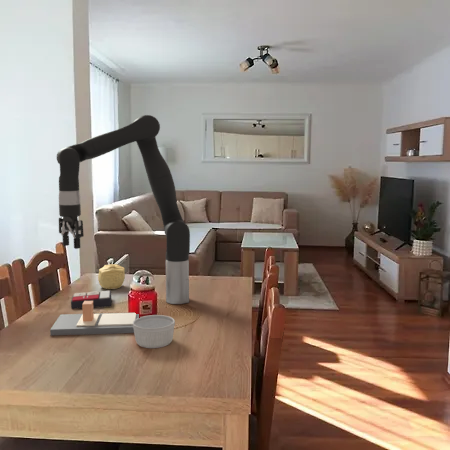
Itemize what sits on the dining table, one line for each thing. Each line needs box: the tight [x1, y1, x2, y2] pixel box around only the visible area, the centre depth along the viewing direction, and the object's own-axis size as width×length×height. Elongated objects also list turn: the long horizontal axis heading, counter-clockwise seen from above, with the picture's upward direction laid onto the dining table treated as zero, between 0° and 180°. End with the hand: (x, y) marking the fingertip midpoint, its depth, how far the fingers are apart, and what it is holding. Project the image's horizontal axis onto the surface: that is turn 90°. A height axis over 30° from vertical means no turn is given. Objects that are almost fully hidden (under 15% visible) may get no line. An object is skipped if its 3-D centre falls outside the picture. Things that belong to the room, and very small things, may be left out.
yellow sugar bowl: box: [97, 263, 126, 290], centre depth 227 cm, size 12×12×11 cm
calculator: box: [70, 290, 112, 309], centre depth 203 cm, size 11×4×15 cm
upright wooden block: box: [76, 301, 100, 326], centre depth 176 cm, size 6×12×6 cm, turn 6°
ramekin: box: [133, 314, 176, 349], centre depth 162 cm, size 13×13×7 cm
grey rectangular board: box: [49, 312, 139, 336], centre depth 176 cm, size 28×16×2 cm, turn 96°
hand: (71, 246), depth 188 cm, fingers open, 8 cm apart
